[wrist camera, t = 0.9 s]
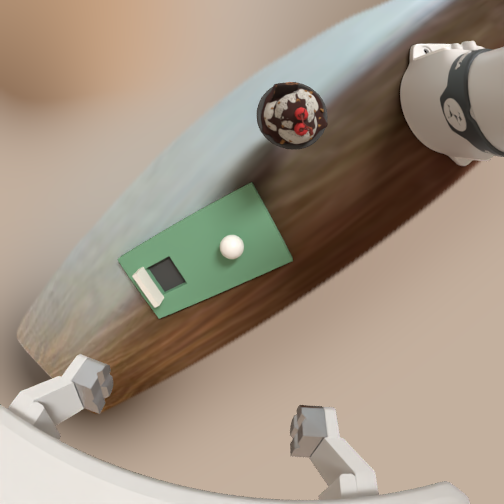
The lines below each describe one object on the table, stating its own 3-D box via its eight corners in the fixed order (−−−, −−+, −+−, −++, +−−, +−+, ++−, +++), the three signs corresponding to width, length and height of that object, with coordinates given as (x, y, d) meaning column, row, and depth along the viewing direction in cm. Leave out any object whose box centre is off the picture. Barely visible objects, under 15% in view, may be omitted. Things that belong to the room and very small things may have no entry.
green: (252, 181, 38) (249, 186, 35) (292, 257, 42) (293, 268, 38) (120, 256, 44) (110, 266, 41) (161, 314, 48) (154, 327, 44)
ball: (237, 227, 39) (234, 235, 36) (249, 247, 40) (247, 256, 37) (217, 237, 40) (212, 246, 37) (229, 257, 41) (225, 267, 38)
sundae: (304, 153, 36) (322, 164, 22) (255, 135, 36) (241, 136, 22) (321, 107, 33) (349, 91, 19) (271, 89, 33) (268, 61, 19)
